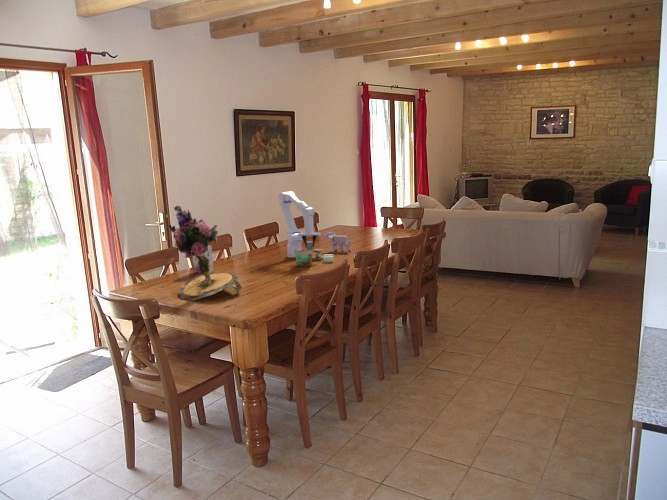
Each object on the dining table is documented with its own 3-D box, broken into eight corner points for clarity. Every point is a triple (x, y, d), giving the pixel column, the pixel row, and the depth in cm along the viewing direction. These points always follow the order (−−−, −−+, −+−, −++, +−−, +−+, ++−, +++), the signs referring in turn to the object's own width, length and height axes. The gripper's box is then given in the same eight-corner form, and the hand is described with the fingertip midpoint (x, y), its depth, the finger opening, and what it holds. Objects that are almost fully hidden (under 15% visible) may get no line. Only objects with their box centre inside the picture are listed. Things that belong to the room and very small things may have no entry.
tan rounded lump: (311, 260, 346) (311, 251, 345) (312, 257, 354) (312, 248, 353) (324, 259, 346) (323, 250, 345) (324, 257, 354) (324, 248, 353)
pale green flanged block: (323, 262, 338) (323, 257, 338) (324, 259, 346) (323, 254, 345) (333, 262, 338) (333, 256, 337) (333, 259, 346) (333, 254, 345)
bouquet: (142, 293, 269) (158, 205, 273) (216, 301, 300) (229, 223, 305) (175, 300, 246) (192, 204, 250) (252, 309, 277) (266, 224, 281)
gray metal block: (306, 250, 344) (306, 242, 343) (307, 248, 348) (306, 241, 347) (312, 250, 344) (312, 242, 343) (313, 248, 348) (312, 241, 347)
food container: (291, 266, 330) (290, 251, 328) (296, 264, 335) (295, 249, 333) (308, 268, 324) (307, 252, 322) (313, 266, 330) (312, 250, 327)
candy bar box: (193, 273, 322) (190, 246, 319) (197, 271, 327) (195, 245, 324) (210, 273, 319) (207, 247, 316) (214, 271, 324) (211, 245, 321)
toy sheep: (320, 252, 370) (320, 232, 368) (325, 249, 380) (325, 230, 378) (347, 253, 364) (347, 233, 362) (352, 250, 374) (352, 231, 372)
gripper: (297, 227, 339) (298, 248, 342) (319, 227, 339) (320, 248, 342) (298, 225, 346) (299, 246, 349) (320, 225, 346) (321, 245, 348)
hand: (309, 247), depth 346 cm, fingers closed on gray metal block, 4 cm apart
